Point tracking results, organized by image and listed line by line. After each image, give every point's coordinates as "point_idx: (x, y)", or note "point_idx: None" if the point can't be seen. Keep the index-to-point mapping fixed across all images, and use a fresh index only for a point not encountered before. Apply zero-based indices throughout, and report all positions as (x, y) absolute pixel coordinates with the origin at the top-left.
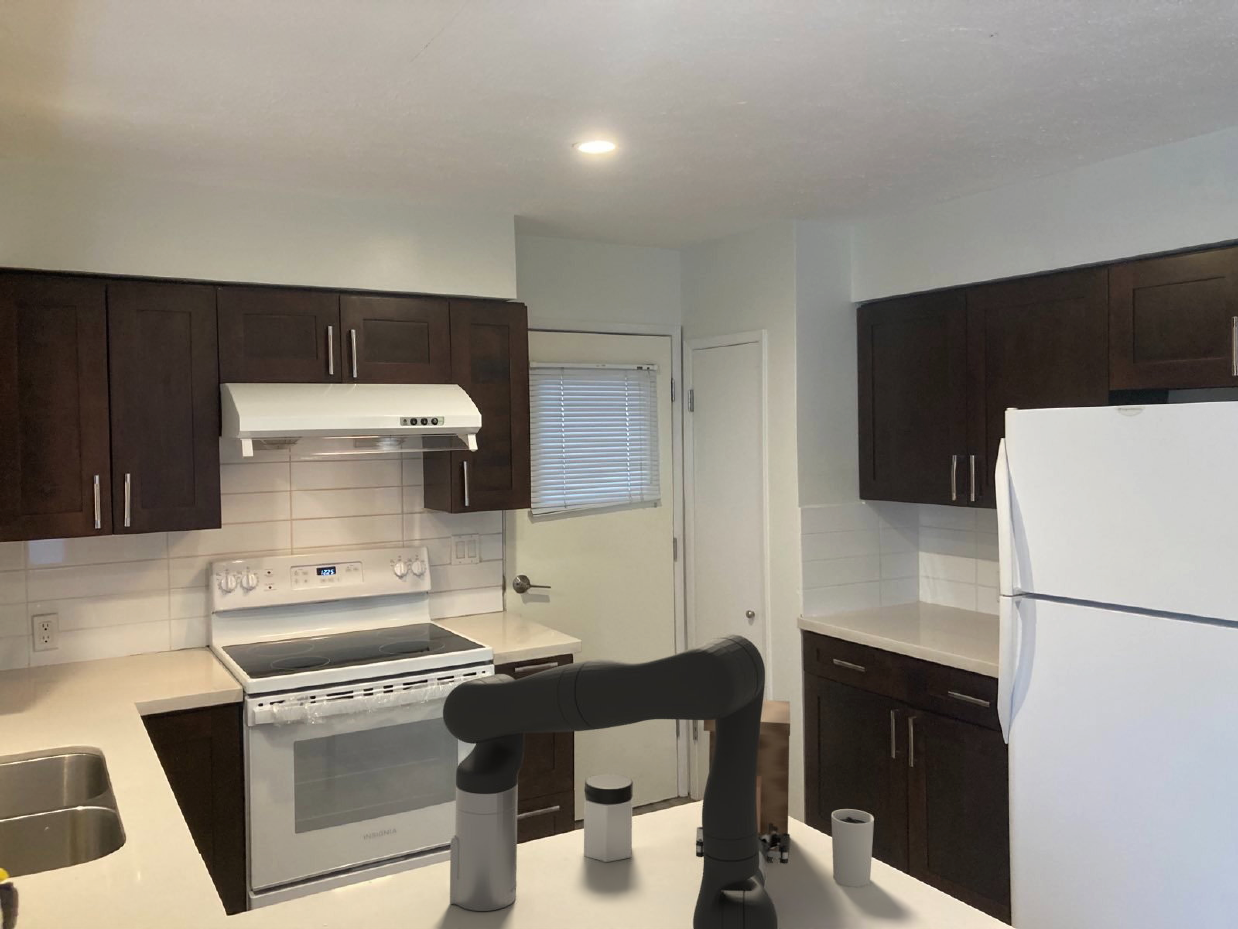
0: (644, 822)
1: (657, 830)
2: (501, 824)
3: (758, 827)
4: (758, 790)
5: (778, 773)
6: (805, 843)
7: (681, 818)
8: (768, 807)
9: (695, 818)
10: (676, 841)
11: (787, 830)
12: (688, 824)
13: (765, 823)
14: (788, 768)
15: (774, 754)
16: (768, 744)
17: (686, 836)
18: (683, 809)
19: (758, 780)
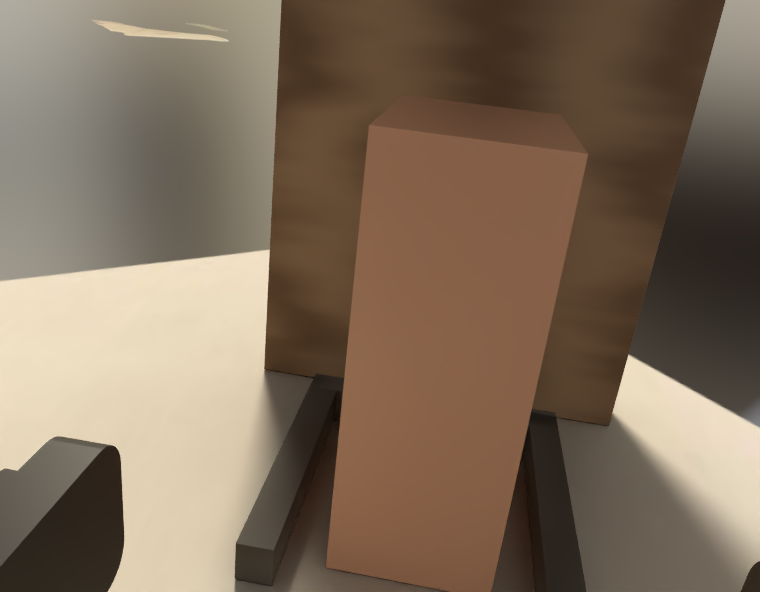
0: (35, 299)
1: (50, 340)
2: None
3: (519, 429)
4: (569, 175)
5: (634, 126)
6: (696, 458)
7: (196, 293)
8: None
9: (248, 297)
10: (83, 411)
11: (615, 392)
12: (206, 320)
13: None
14: (694, 103)
15: (635, 18)
16: None
17: (155, 382)
18: (226, 262)
19: (553, 124)
